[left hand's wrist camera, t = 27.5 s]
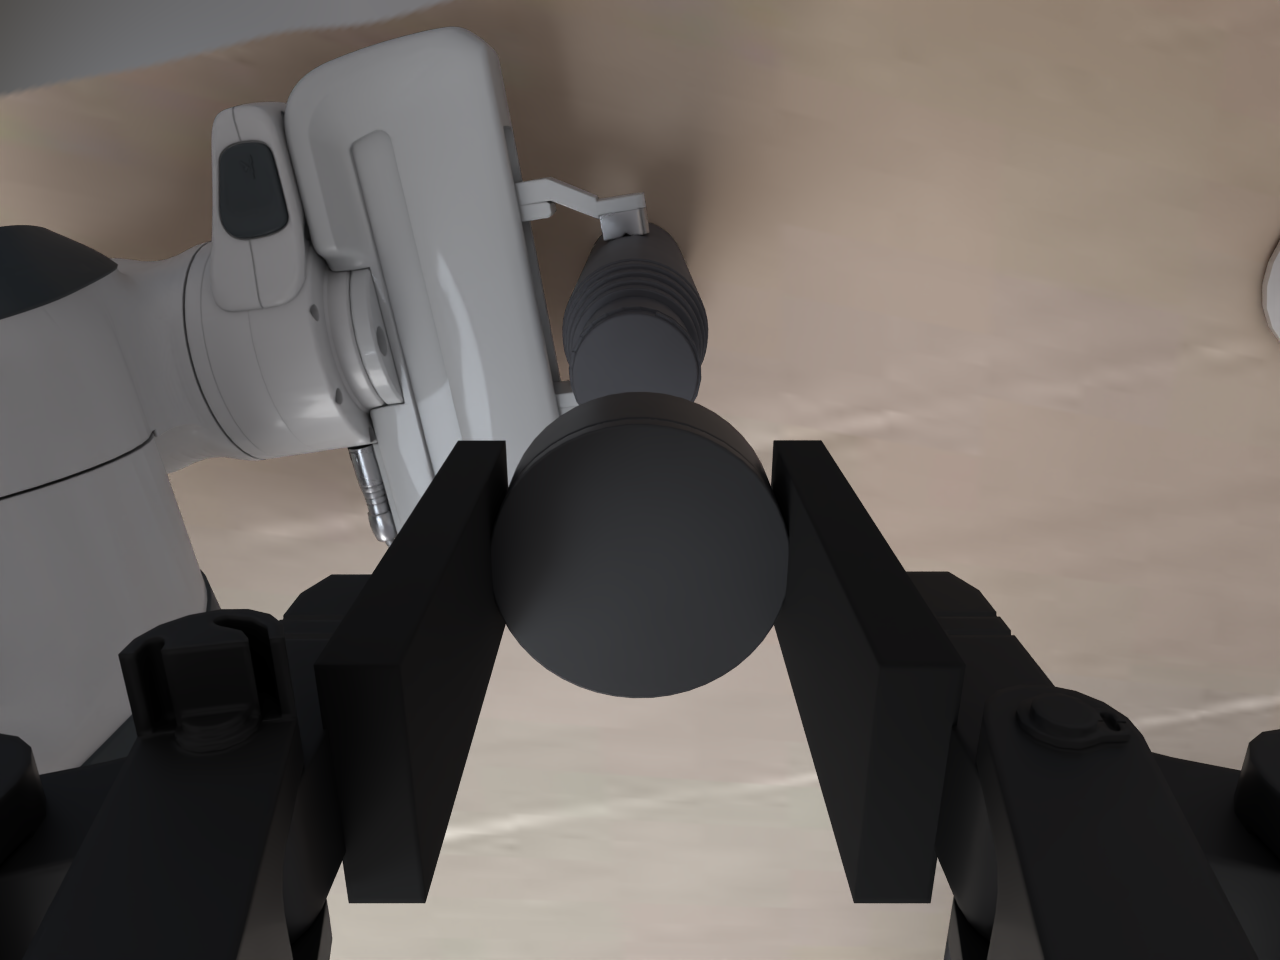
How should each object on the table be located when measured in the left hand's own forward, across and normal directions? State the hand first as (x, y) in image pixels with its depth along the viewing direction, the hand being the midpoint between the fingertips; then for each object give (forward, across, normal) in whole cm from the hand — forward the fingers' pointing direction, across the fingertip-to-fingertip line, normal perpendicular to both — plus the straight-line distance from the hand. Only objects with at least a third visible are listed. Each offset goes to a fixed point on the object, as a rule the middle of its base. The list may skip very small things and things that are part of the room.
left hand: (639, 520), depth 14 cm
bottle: (+29, 0, -1) cm, 29 cm away
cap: (-2, 0, 0) cm, 2 cm away
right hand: (+22, -1, -1) cm, 22 cm away
